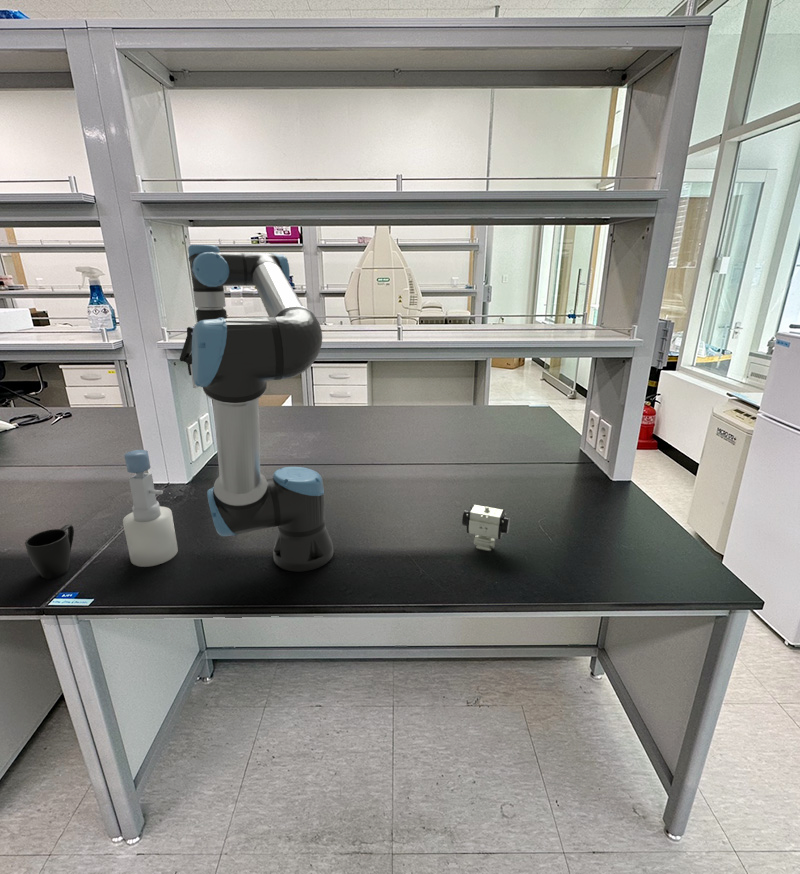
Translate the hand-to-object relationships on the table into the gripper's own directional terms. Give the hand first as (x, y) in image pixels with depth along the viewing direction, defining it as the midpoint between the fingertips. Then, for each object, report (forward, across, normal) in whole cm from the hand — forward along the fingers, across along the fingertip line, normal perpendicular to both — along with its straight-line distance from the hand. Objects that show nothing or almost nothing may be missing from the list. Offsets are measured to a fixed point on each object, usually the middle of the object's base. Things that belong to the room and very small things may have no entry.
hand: (220, 388), depth 134 cm
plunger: (+24, +10, +24) cm, 35 cm away
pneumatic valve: (+39, -74, +7) cm, 84 cm away
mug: (+39, +29, +33) cm, 59 cm away
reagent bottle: (+39, +10, +24) cm, 47 cm away
